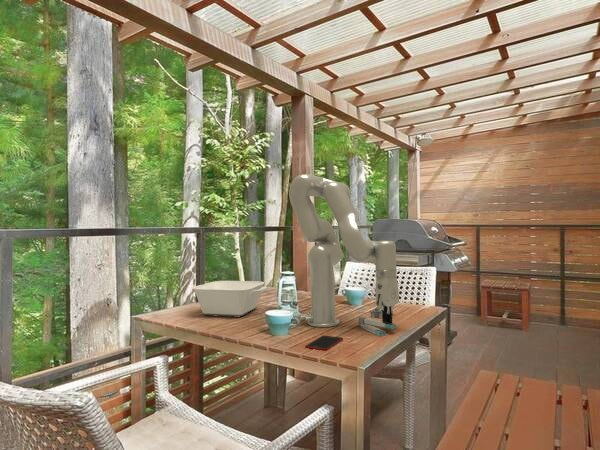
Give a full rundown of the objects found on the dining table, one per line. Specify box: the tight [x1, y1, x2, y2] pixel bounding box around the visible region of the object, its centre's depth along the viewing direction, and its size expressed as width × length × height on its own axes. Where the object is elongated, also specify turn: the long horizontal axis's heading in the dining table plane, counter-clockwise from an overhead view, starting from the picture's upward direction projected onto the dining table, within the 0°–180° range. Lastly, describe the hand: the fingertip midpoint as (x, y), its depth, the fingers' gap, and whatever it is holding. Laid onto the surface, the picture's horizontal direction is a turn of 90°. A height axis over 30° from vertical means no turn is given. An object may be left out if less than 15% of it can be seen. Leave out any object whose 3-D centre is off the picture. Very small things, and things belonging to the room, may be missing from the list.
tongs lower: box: [358, 316, 386, 337], centre depth 155 cm, size 16×3×3 cm, turn 19°
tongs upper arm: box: [364, 317, 397, 330], centre depth 154 cm, size 13×3×2 cm, turn 39°
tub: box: [192, 280, 268, 317], centre depth 191 cm, size 34×27×13 cm
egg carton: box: [369, 305, 395, 320], centre depth 179 cm, size 11×8×4 cm
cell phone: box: [304, 335, 344, 352], centre depth 139 cm, size 8×15×1 cm, turn 152°
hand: (387, 323), depth 155 cm, fingers closed
